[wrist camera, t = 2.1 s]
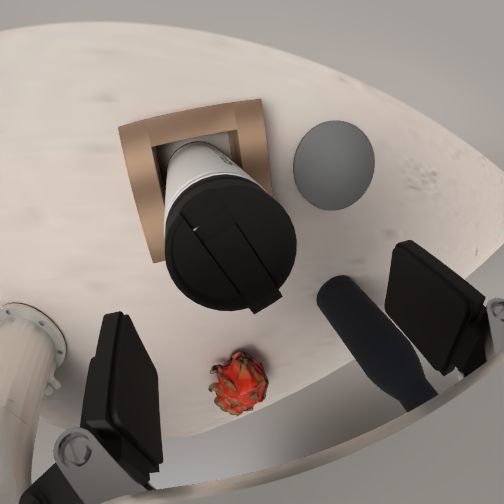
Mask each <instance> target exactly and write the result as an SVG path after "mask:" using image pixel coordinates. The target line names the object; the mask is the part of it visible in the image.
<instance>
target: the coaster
mask: <svg viewBox="0 0 504 504" xmlns="http://www.w3.org/2000/svg"><path fill="white" fill-rule="evenodd" d="M374 166H375V159H374V152H373V148H372V145H371V143H370V141H369V139H368V138H367V136H366V135H365V134H364V133H363V132H362V131H361V130H360V129H359V128H358V127H356V126H355V125H353V124H350V123H347V122H343V121H327V122H324V123H321V124H319V125H317V126H315V127H314V128H312V129H311V130H310V131H309V132H308V133H307V134H306V135H305V136H304V137H303V139H302V140H301V142H300V143H299V145H298V147H297V150H296V153H295V157H294V163H293V173H294V179H295V182H296V185H297V187H298V189H299V191H300V193H301V194H302V195H303V197H304V198H305V199H306V200H307V201H309V202H310V203H311V204H313V205H314V206H316V207H318V208H321V209H324V210H339V209H343V208H346V207H348V206H350V205H352V204H353V203H355V202H356V201H357V200H358V199H359V198H361V197H362V195H363V194H364V193H365V191H366V190H367V188H368V187H369V185H370V183H371V180H372V177H373V173H374Z"/></svg>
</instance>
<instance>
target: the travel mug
mask: <svg viewBox="0 0 504 504" xmlns="http://www.w3.org/2000/svg"><path fill="white" fill-rule="evenodd" d="M164 237H165V260H166V266H167V269H168V271H169V274H170V276H171V278H172V280H173V281H174V283H175V285H176V286H177V288H178V289H179V290H180V291H181V292H182V293H183V294H184V295H185V296H186V297H188V298H189V299H191V300H192V301H194V302H195V303H197V304H200V305H202V306H204V307H207V308H210V309H215V310H219V311H235V310H242V309H246V308H249V309H250V310H251V311H252V312H253V314H256V313H257V312H259V311H261V310H262V309H264V308H266V307H268V306H269V305H271V304H272V303H274V302H275V301H277V300H278V299H280V298H281V297H283V296H282V294H281V293H280V291H279V290H278V289H279V288H280V287H281V286H282V285H283V284H284V282H285V281H286V279H287V278H288V276H289V274H290V272H291V270H292V267H293V265H294V261H295V256H296V247H297V239H296V234H295V230H294V226H293V224H292V222H291V219H290V217H289V215H288V214H287V213H286V211H285V210H284V208H283V207H282V206H281V205H280V204H279V203H278V202H277V201H276V200H275V199H273V198H272V197H271V196H270V195H269V194H268V193H267V191H266V190H265V189H264V188H263V187H262V186H260V185H259V184H258V183H257V182H256V181H255V180H254V179H253V178H251V177H250V176H249V175H248V174H247V173H246V172H244V171H243V170H242V169H241V168H240V167H239V166H237V165H236V164H235V163H234V162H233V161H231V160H230V159H229V158H228V157H227V156H225V155H224V154H223V153H222V152H221V151H219V150H218V149H217V148H216V147H215V146H213V145H211V144H209V143H205V142H191V143H188V144H185V145H183V146H181V147H180V148H179V149H178V150H176V151H175V153H174V154H173V155H172V157H171V159H170V160H169V164H168V168H167V181H166V197H165V217H164Z"/></svg>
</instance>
